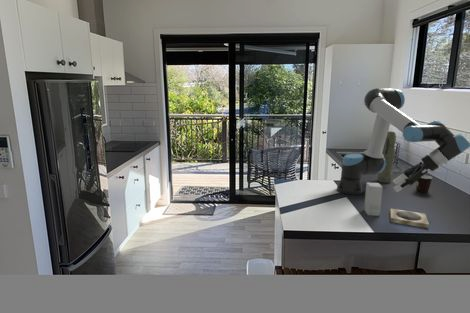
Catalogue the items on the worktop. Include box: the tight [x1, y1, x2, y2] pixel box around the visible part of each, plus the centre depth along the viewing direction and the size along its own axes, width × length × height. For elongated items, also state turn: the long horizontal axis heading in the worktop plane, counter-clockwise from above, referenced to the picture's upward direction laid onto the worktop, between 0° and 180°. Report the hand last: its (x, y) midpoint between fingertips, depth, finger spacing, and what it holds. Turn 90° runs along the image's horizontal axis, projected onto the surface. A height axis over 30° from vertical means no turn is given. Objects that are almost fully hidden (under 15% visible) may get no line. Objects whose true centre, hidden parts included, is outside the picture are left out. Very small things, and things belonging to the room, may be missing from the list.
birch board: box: [389, 208, 430, 229], centre depth 157 cm, size 16×14×2 cm
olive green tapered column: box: [377, 131, 397, 184], centre depth 218 cm, size 9×12×35 cm
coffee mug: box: [415, 174, 433, 195], centre depth 200 cm, size 12×9×10 cm
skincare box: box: [363, 182, 384, 217], centre depth 163 cm, size 8×7×16 cm
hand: (394, 186), depth 157 cm, fingers open, 13 cm apart
